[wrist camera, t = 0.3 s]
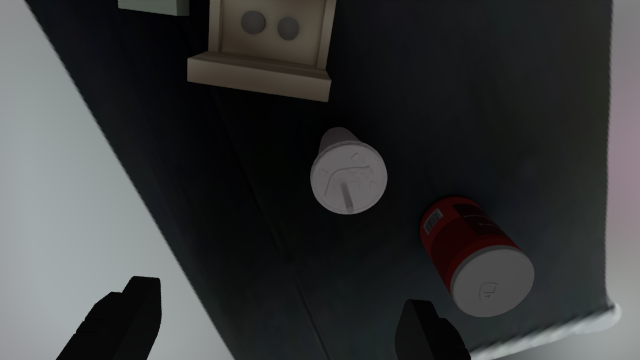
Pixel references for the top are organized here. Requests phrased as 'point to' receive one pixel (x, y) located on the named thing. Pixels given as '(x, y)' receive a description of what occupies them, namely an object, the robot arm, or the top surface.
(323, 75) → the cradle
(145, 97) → the top surface
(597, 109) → the top surface
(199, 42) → the top surface
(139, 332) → the robot arm
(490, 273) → the canned food
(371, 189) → the smoothie
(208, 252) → the top surface
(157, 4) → the grey-green rectangular block
